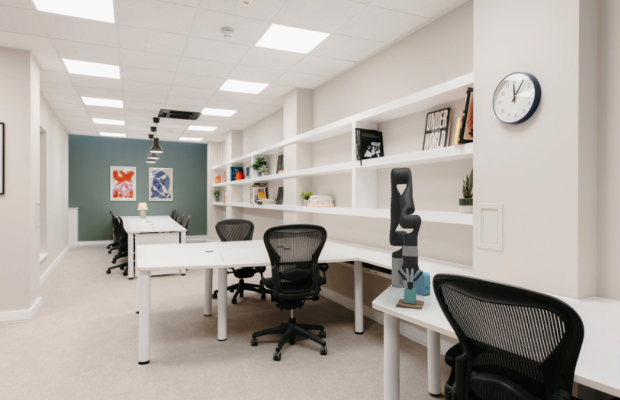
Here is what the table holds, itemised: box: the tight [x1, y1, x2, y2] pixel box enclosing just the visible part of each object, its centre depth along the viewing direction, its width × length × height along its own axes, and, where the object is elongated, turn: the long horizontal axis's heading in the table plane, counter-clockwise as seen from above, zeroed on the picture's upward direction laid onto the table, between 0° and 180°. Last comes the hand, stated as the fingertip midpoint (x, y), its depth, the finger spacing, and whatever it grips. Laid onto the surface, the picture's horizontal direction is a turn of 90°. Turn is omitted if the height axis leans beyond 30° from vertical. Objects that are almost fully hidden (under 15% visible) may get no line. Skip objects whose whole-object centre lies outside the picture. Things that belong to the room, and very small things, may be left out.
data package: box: [410, 271, 431, 296], centre depth 212 cm, size 12×4×12 cm, turn 28°
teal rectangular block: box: [403, 287, 417, 304], centre depth 189 cm, size 5×5×7 cm
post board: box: [395, 298, 425, 310], centre depth 189 cm, size 12×12×7 cm
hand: (410, 289), depth 189 cm, fingers closed
